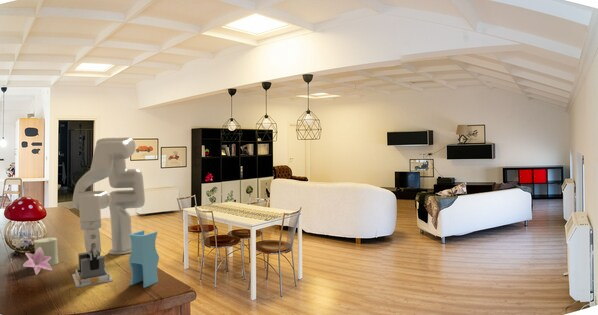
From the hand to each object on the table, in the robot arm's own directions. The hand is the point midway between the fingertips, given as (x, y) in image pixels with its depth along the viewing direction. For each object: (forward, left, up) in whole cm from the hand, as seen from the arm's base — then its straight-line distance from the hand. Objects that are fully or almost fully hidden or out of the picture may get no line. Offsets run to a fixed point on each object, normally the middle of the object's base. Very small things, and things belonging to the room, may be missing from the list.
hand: (93, 266), depth 165 cm
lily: (+18, -31, -6) cm, 36 cm away
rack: (0, -5, -6) cm, 8 cm away
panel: (0, 0, -6) cm, 6 cm away
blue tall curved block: (-16, +15, -6) cm, 23 cm away
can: (+15, -41, -6) cm, 44 cm away
